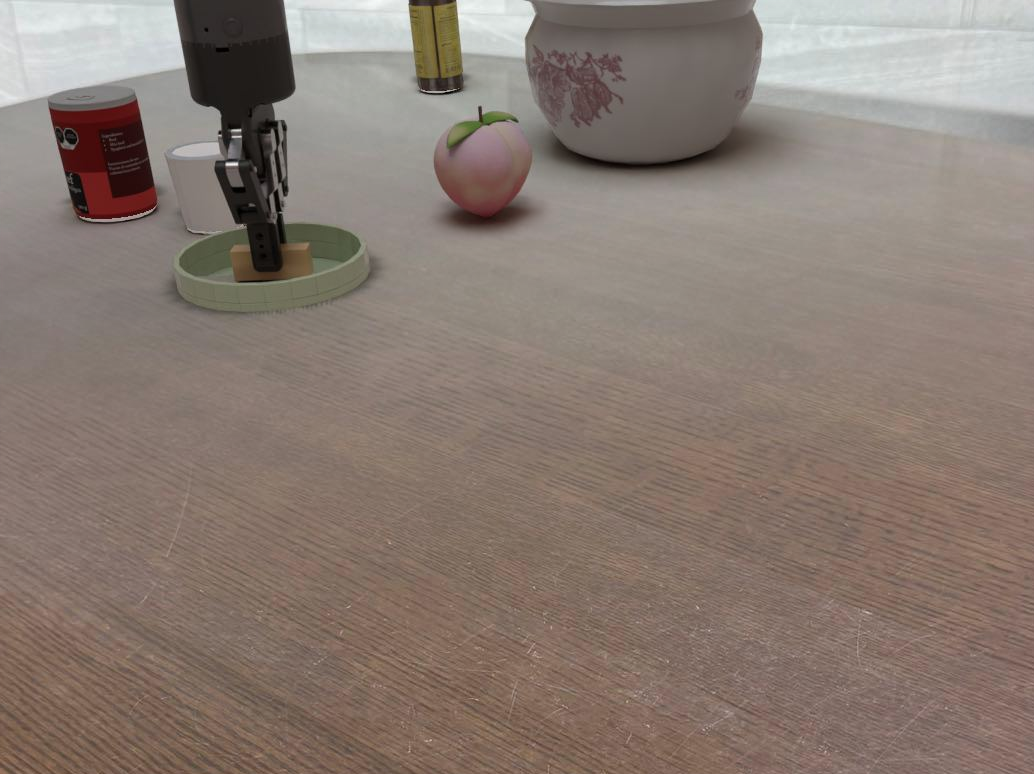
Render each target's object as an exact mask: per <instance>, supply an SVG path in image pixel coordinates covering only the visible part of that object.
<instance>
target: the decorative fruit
mask: <svg viewBox="0 0 1034 774" xmlns="http://www.w3.org/2000/svg"><path fill="white" fill-rule="evenodd" d="M477 109H478V110H477V112H478V113H477V114H478V116H476V117H471V118H466V119H463V120H460V121H458V122H455V123H453V124H452V125H450V126H449V127H448V128H447V129H446V130H445V131H444V132H443V133H442V135H441V136H440V137H439V139H438V141H437V143H436V145H435V148H434V152H433V169H434V173H435V176H436V180H437V182H438V183H439V186H440V187H441V189H442V190H443V191H444V193H445V194H446V196H447V197H448V198H449V199H450V200H451V201H452V202H453V203H454V204H455V205H457V206H458V207H460V208H462V209H463V210H465V211H467V212H470V213H471V214H474V215H477V216H481V217H483V218H487V219H488V218H490V217H491V216H493V215H496V214H497V213H499V212H500V211H501V210H503V209H504V208H505V207H507V206H508V205H509V204H510V203H511V202H513V200H515V198H516V197H517V196H518V194H519V193H520V191H521V190H522V188H523V187H524V184H525V182H526V180H527V178H528V176H529V173H530V170H531V168H532V162H533V151H532V147H531V144H530V141H529V140H528V138H527V136H526V135H525V133H524V132H523V131H522V130H521V129H520V128H519V127H518V126H517V125H516V124H514V123H517V124H519V119H518V118H517V117H515V115H513V114H511V113H509V112H505V111H501V110H500V111H499V110H492V111H488V112H485V113H483V106H482V105H478V106H477ZM510 121H511V122H510ZM512 122H514V123H512Z"/></svg>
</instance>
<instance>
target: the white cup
mask: <svg viewBox="0 0 1034 774" xmlns="http://www.w3.org/2000/svg"><path fill="white" fill-rule="evenodd" d="M164 156H165V160H166V163H167V168H168V171H169V174H170V178H171V181H172V185H173V189H174V192H175V194H176V195H175V196H176V198H177V202H178V205H179V208H180V212H181V215H182V219H183V222H184V226H185V225H186V226H185V228H186V227H187V228H189V229H191V230H194V231H205V232H210V231H211V232H216V231H225V230H229V229H233V228H237V227H240V226H241V225H242V224H236V223H235V221H234V219H233V216H232V214H231V211H230V209H229V206H228V204H227V201H226V199H225V196H224V194H223V191H222V188H221V186H220V183H219V181H218V178H217V176H216V173H215V170H214V166H215V162H216V160H225V159H224V157H223V156H222V155H221V153H220V149H219V143H218V140H201V141H195V142H194V141H193V142H188V143H184V144H180V145H175V146H173V147H170V148H169V149H167V150H166V151H165V152H164Z"/></svg>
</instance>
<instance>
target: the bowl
mask: <svg viewBox="0 0 1034 774" xmlns="http://www.w3.org/2000/svg"><path fill="white" fill-rule="evenodd" d="M284 226H285V233H286V239H287V243H310V247H311V254H312V261H313V268H314V273H313V274H312V275H308V276H303V277H298V278H293V279H284V280H270V281H262V282H260V281H259V282H231V281H218V280H217V281H216V280H211V279H207V278H203V277H221V276H223V277H225V276H234V273H233V268H232V262H231V257H230V251H231V249H232V248H233V246H234V245H249V239H248V233H247V227H246V225H245V226H243V227H239V228H233V229H229V230H225V231H222V232H218V233H215V234H207V235H206V236H204V237H201V238H199V239H196V240H194V241H192V242H190V243H189V244H187V245H185V246H184V247H182V248H180V250H179V251H177V253H176V254H175V255H174V257H173V258H172V268H173V269H172V270H173V274H174V279H175V283H176V288H177V293H178V294H179V295H180V296H181V297H182V298H183V299H184V300H185V301H187V302H189V303H190V304H193V305H195V306H198V307H201V308H206V309H207V308H208V309H210V310H214V311H225V312H238V313H251V312H273V311H279V310H280V311H281V310H289V309H296V308H301V307H305V306H310V305H314V304H320V303H322V302H325V301H328V300H331V299H335V298H338V297H340V296H342V295H344V294H346V293H348V292H350V291H352V290H353V289H355V288H358V287H359V286H360V285H361V284H362V283H363V282H364V281H366V280H367V278H368V276H369V274H370V272H371V267H370V266H371V265H370V257H369V249H368V243H367V241H366V239H365V236H364V235H362V234H361V233H359V232H358V231H356V230H354V229H351V228H349V227H346V226H343V225H338V224H331V223H326V222H317V221H316V222H315V221H284Z"/></svg>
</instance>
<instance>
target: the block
mask: <svg viewBox="0 0 1034 774" xmlns="http://www.w3.org/2000/svg"><path fill="white" fill-rule="evenodd" d="M280 246H281V253H282V260H283V266H282V268H281V269H280V270H279V271H278V272H257V271H256V270H255V269H254V267H253V262H252V257H251V251H250V245H234V246H233V248H232V249H231V251H230V257H231V262H232V268H233V273H234V275H233V279H234V281H235V282H244V281H245V282H247V281H251V282H252V281H279V280H288V279H293V278H298V277H303V276H308V275H313V274H315V273H314V268H313V261H312V254H311V247H310V243H284V244H280Z"/></svg>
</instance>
